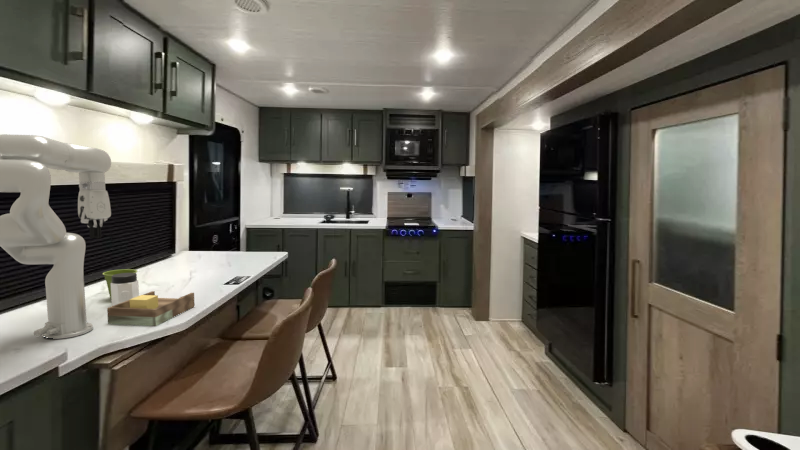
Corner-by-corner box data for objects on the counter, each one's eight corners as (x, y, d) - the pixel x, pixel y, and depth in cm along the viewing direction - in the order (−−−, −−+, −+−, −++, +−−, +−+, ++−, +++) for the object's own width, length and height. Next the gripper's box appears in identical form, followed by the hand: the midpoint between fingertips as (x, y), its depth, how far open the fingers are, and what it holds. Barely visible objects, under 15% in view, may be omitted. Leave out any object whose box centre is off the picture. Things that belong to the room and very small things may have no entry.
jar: (111, 309, 160) (110, 278, 159) (111, 304, 167) (110, 274, 165) (139, 306, 165) (138, 275, 164) (138, 301, 172) (137, 271, 170)
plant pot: (122, 304, 168) (121, 275, 167) (96, 302, 170) (94, 274, 169) (145, 296, 179) (144, 269, 178) (120, 294, 181) (119, 268, 180)
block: (147, 314, 145) (146, 300, 144) (130, 313, 145) (129, 299, 145) (158, 309, 151) (157, 295, 150) (142, 308, 151) (141, 294, 151)
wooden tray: (155, 326, 142) (155, 309, 142) (108, 324, 144) (107, 308, 143) (194, 306, 165) (194, 292, 164) (152, 305, 166) (152, 291, 166)
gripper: (85, 187, 146) (88, 241, 148) (118, 187, 161) (120, 235, 163) (64, 187, 147) (68, 240, 149) (99, 186, 162) (102, 235, 163)
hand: (95, 237), depth 156 cm, fingers closed
